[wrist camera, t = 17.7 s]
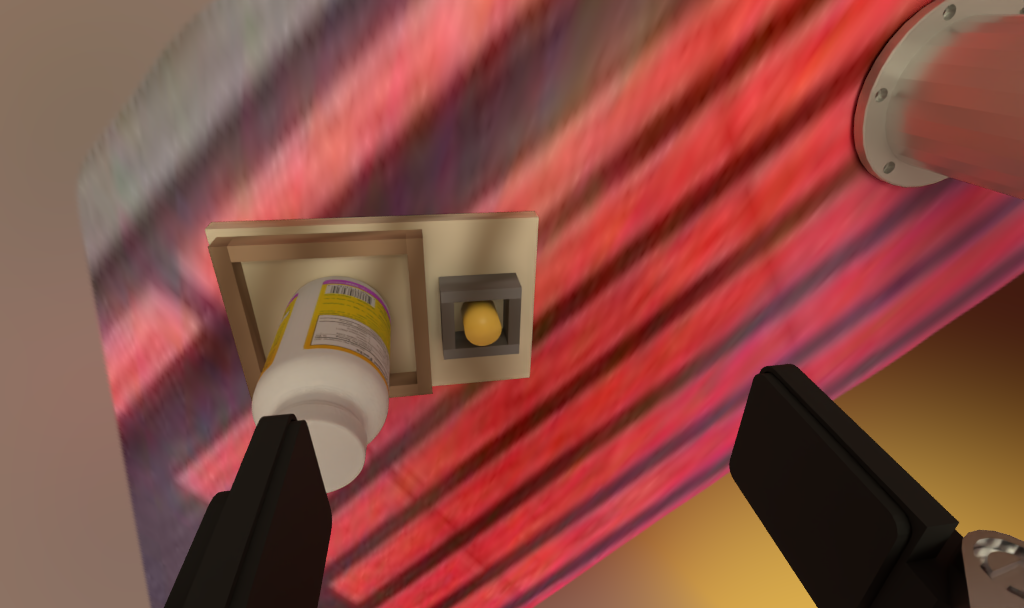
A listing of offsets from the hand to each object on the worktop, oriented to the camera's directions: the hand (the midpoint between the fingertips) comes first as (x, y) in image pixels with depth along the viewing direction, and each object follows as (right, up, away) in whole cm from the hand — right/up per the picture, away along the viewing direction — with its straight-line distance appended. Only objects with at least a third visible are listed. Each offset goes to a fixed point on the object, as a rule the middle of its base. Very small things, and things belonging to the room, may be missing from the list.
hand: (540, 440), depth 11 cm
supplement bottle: (-12, +2, +24) cm, 27 cm away
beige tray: (-9, +3, +25) cm, 27 cm away
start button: (-3, +2, +25) cm, 25 cm away
